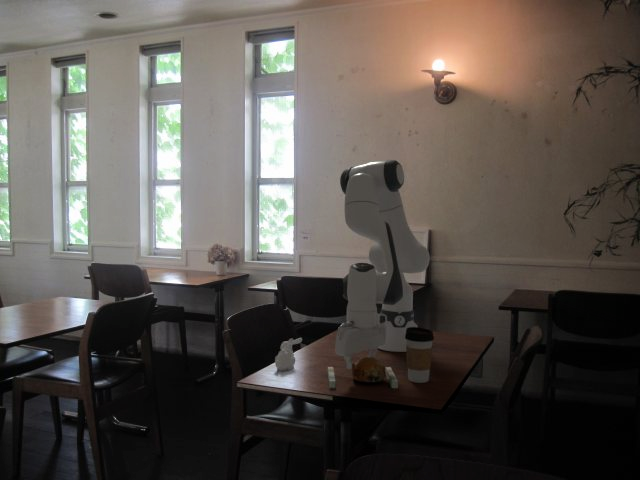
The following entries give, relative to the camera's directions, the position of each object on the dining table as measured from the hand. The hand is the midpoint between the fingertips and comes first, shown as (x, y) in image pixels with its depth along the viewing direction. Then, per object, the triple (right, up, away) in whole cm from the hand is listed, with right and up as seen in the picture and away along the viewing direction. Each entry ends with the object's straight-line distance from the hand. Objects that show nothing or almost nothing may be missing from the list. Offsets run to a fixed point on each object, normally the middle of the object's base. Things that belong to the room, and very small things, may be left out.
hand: (360, 365), depth 170 cm
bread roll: (+2, -5, -3) cm, 6 cm away
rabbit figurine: (-22, -3, +11) cm, 25 cm away
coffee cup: (+17, -5, 0) cm, 18 cm away
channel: (0, -4, -1) cm, 4 cm away
